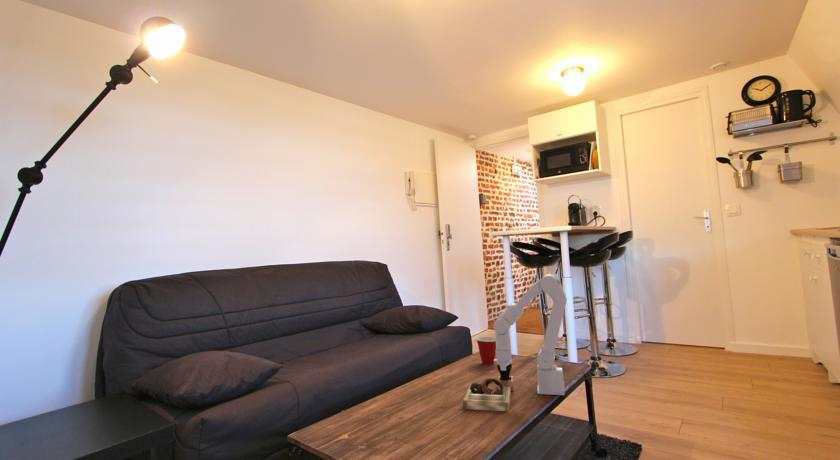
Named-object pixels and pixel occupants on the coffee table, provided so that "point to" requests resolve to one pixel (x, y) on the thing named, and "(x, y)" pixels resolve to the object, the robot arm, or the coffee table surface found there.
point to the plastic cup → (487, 349)
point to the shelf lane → (487, 402)
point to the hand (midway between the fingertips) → (505, 383)
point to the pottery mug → (483, 387)
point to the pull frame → (498, 397)
